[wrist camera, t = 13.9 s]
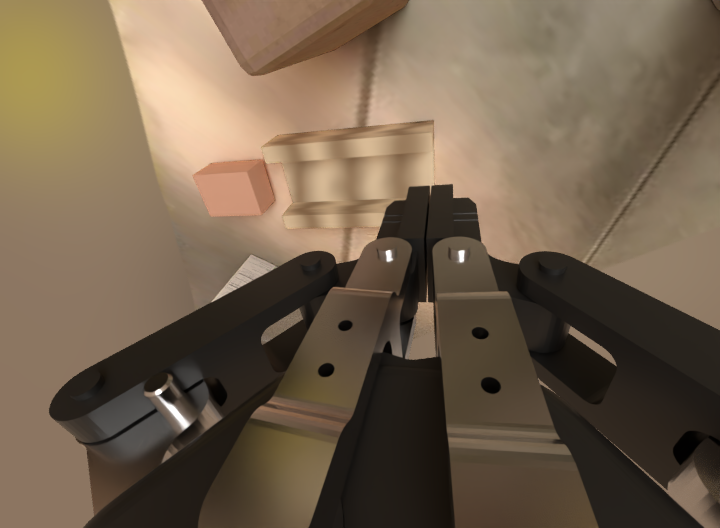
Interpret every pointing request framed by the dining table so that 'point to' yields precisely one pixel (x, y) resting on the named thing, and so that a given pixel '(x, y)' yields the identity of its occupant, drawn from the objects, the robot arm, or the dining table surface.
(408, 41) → the dining table surface
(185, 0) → the dining table surface
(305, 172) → the chute
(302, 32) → the wooden block
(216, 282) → the dining table surface
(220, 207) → the block
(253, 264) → the syrup box
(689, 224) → the dining table surface
